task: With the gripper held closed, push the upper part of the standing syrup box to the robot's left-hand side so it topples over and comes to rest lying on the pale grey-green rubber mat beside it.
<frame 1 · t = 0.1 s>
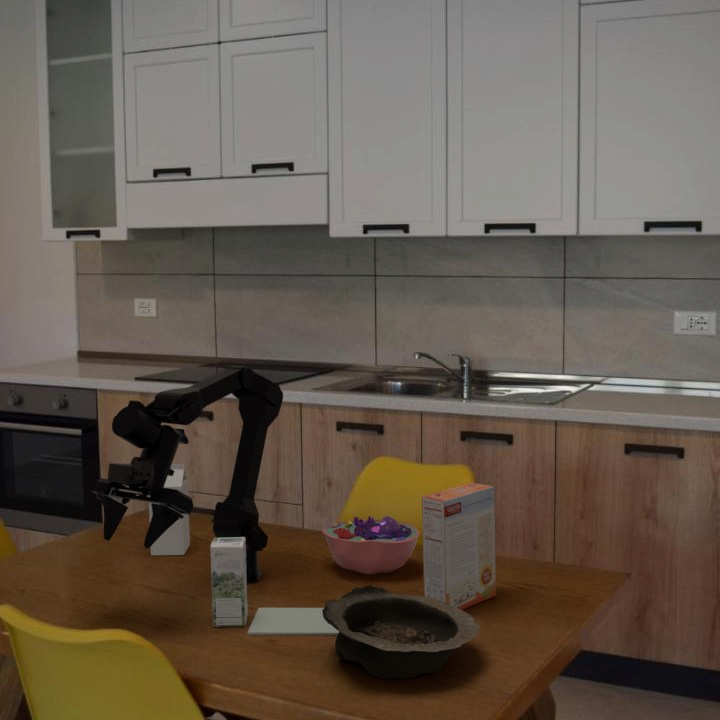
hand: (125, 543, 176), 15 cm above the table, tool tilted 30°, fingers open, 9 cm apart
mat: (299, 622, 180), on the table
cell model: (371, 571, 208), on the table
stone bowl: (401, 661, 163), on the table
cracker box: (459, 604, 188), on the table
syrup box: (230, 622, 180), on the table
milk carton: (170, 552, 223), on the table
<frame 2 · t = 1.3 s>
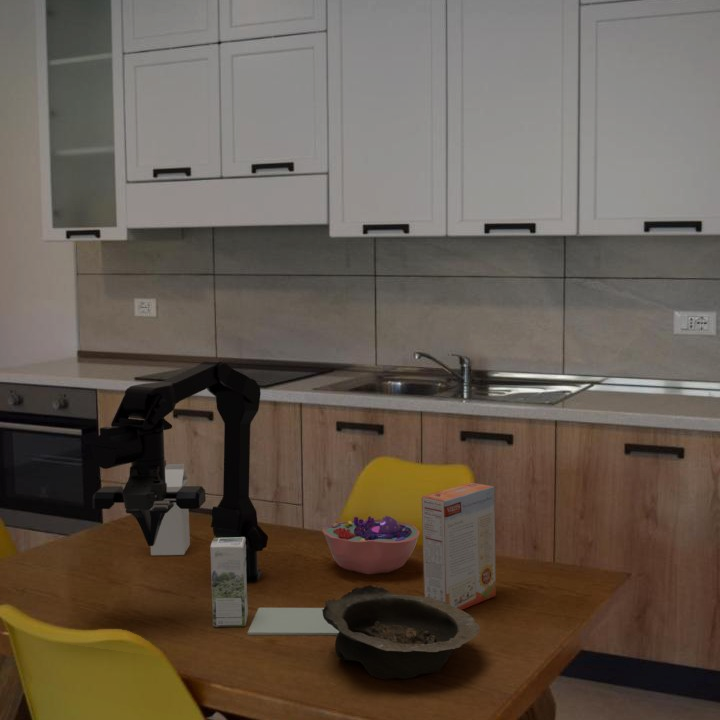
hand: (151, 545, 182), 13 cm above the table, tool pointing down, fingers closed
nothing on the table moved.
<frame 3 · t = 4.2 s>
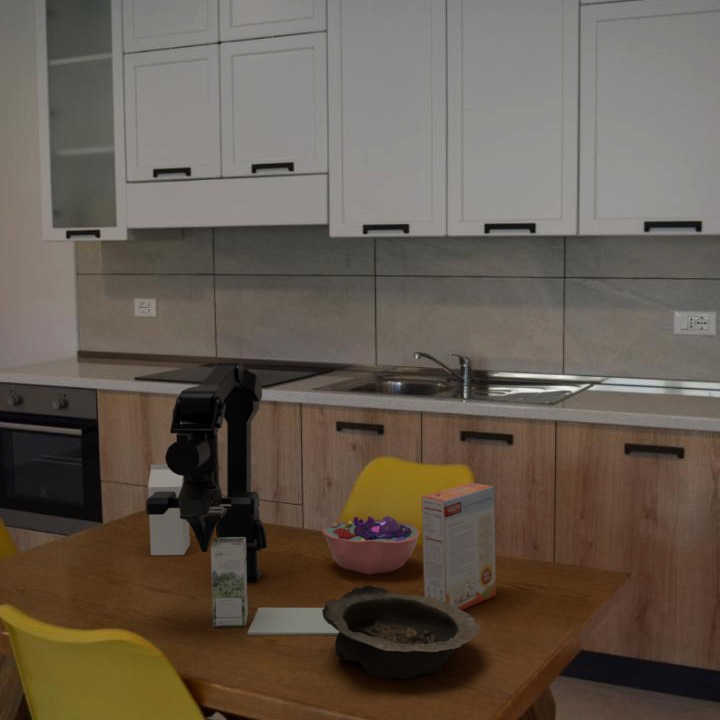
hand: (204, 551, 179), 13 cm above the table, tool pointing down, fingers closed
syrup box: (230, 622, 180), on the table, touching gripper
everything else where it was.
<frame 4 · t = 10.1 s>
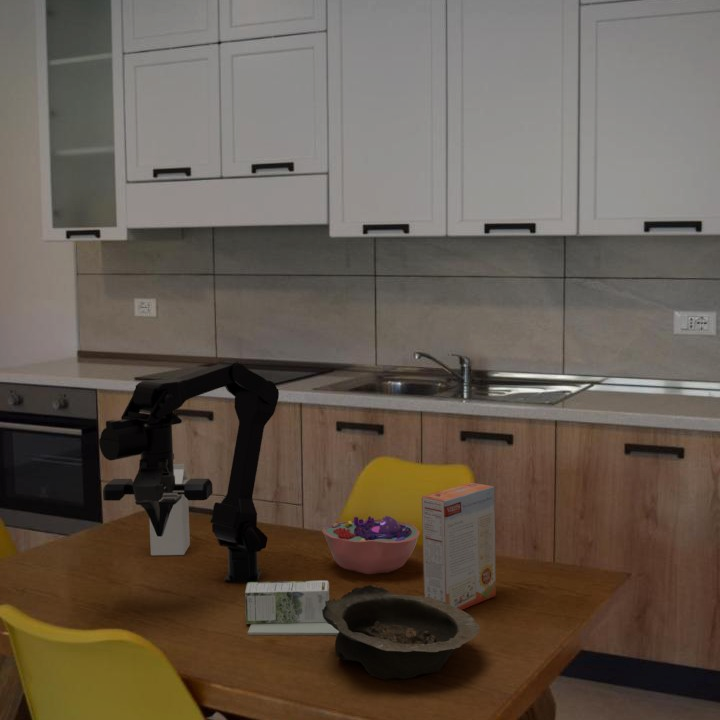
hand: (160, 536, 188), 13 cm above the table, tool pointing down, fingers closed
syrup box: (244, 603, 180), point 3 cm above the table, touching mat
everything else where it was.
at the end: syrup box tilted 90°; syrup box inside the target area (10.0 cm from its centre), point 3.2 cm above the table; the gripper is holding nothing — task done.
